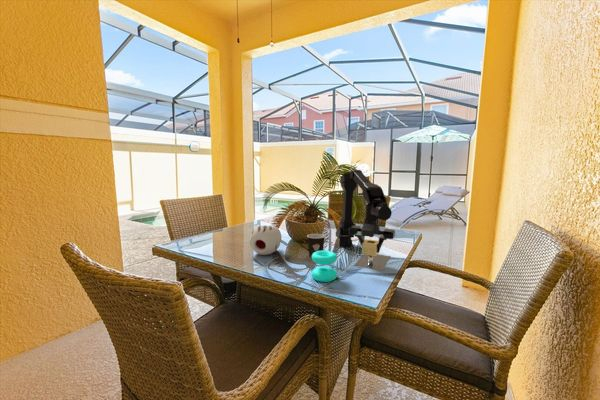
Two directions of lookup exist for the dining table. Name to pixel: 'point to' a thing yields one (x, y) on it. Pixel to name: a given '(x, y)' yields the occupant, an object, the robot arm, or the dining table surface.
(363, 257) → the base plate
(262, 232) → the decorative object
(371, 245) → the brass collar
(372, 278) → the dining table surface
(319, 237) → the coffee mug
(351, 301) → the dining table surface
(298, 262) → the dining table surface
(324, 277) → the donuts
